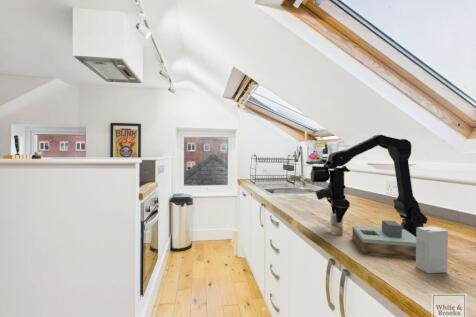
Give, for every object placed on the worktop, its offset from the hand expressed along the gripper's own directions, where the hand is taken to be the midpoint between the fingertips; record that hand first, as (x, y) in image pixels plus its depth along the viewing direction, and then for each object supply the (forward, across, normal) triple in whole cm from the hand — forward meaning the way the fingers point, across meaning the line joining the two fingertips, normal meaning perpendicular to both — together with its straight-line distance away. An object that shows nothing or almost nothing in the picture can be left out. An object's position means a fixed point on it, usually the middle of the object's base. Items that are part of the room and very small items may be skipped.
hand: (336, 219), depth 96 cm
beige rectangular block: (+6, 0, 0) cm, 6 cm away
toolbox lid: (+2, +12, +14) cm, 19 cm away
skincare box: (+6, +26, +21) cm, 34 cm away
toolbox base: (+6, +12, +14) cm, 19 cm away
